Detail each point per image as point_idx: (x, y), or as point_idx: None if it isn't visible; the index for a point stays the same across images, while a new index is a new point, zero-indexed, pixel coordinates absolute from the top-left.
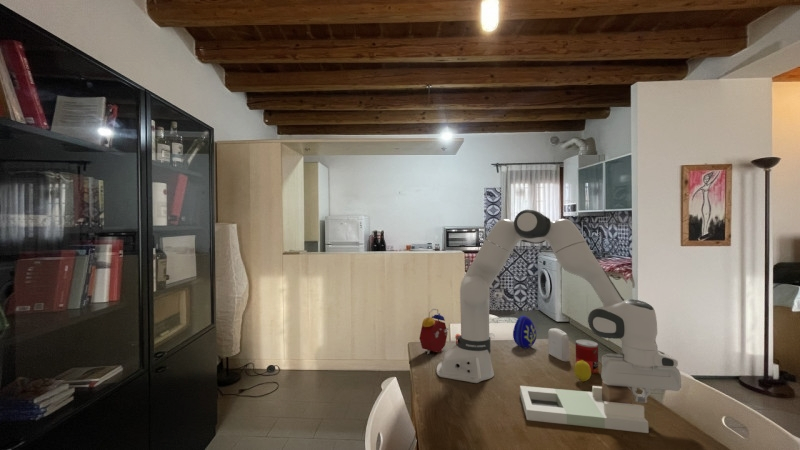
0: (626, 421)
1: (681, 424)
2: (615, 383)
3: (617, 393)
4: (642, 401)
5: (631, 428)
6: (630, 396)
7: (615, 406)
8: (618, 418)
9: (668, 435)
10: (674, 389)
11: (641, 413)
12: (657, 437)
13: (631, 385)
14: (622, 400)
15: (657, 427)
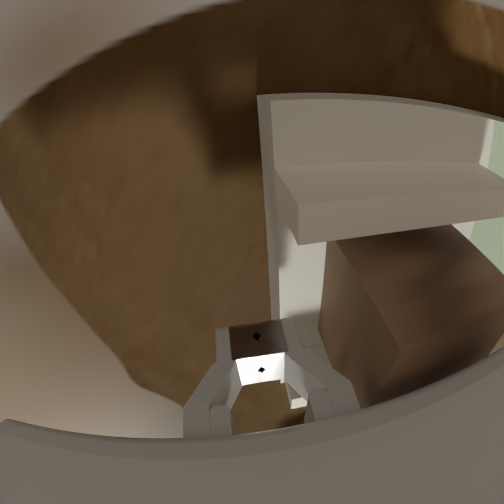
0: (405, 103)
1: (63, 263)
2: (499, 369)
3: (476, 294)
4: (246, 327)
5: (358, 95)
6: (387, 307)
7: (478, 184)
8: (444, 119)
9: (141, 111)
10: (16, 430)
11: (304, 176)
12: (218, 60)
13: (390, 415)
14: (421, 266)
15: (177, 186)
